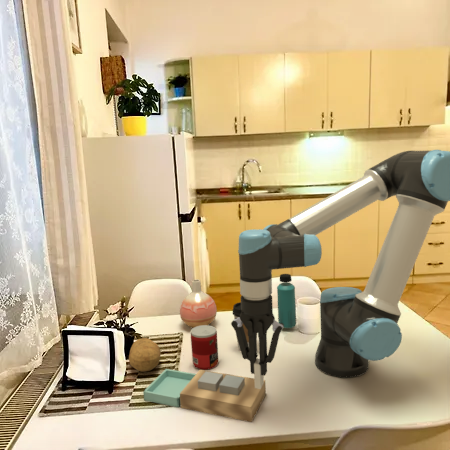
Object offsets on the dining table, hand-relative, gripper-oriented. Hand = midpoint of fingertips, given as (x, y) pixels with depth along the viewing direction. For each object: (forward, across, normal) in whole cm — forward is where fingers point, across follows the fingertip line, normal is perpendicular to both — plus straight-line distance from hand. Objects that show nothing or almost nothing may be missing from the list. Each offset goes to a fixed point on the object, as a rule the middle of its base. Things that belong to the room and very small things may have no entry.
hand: (259, 385), depth 103 cm
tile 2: (+2, +7, 0) cm, 8 cm away
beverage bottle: (+6, +4, -47) cm, 48 cm away
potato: (+7, +39, -9) cm, 41 cm away
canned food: (+7, +22, -16) cm, 28 cm away
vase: (+6, +36, -41) cm, 55 cm away
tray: (+6, +25, 0) cm, 26 cm away
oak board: (+6, +10, 0) cm, 12 cm away
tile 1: (+2, +13, 0) cm, 13 cm away
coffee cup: (+6, +13, -29) cm, 33 cm away
